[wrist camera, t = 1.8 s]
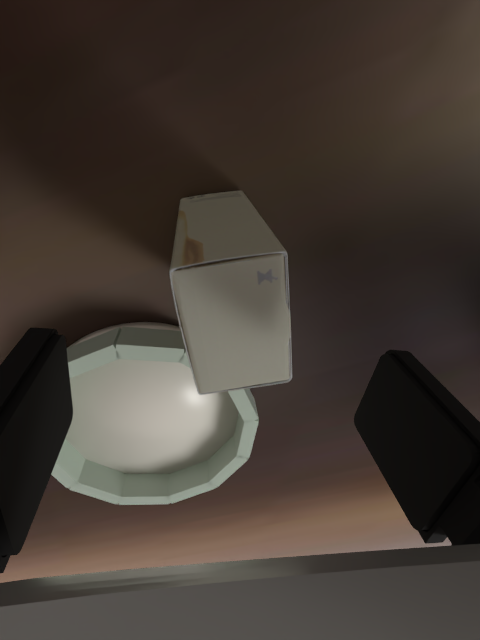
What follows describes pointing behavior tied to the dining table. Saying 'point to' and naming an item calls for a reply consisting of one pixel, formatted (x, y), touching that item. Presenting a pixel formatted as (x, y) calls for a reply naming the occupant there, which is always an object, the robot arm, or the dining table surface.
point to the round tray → (148, 420)
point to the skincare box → (231, 294)
